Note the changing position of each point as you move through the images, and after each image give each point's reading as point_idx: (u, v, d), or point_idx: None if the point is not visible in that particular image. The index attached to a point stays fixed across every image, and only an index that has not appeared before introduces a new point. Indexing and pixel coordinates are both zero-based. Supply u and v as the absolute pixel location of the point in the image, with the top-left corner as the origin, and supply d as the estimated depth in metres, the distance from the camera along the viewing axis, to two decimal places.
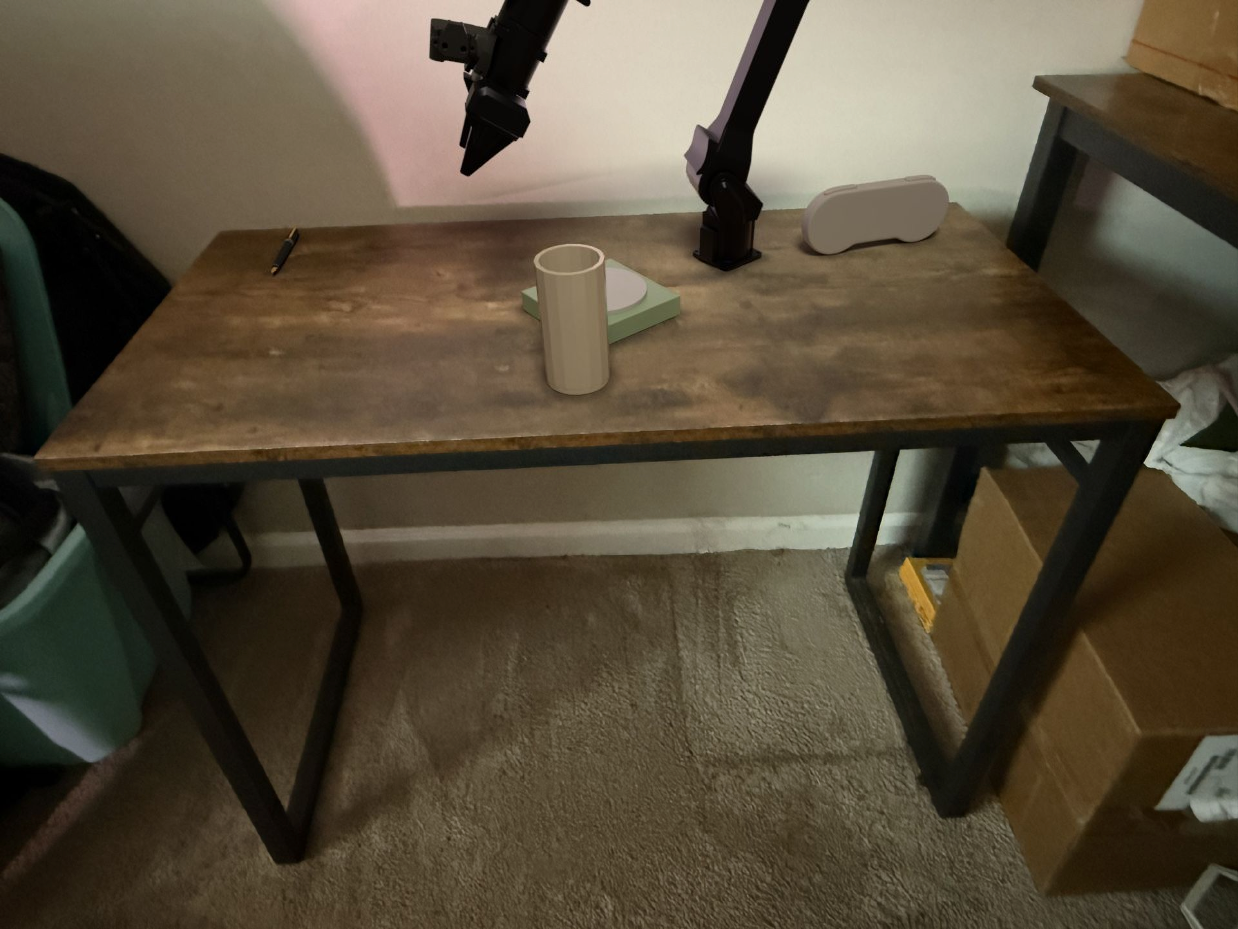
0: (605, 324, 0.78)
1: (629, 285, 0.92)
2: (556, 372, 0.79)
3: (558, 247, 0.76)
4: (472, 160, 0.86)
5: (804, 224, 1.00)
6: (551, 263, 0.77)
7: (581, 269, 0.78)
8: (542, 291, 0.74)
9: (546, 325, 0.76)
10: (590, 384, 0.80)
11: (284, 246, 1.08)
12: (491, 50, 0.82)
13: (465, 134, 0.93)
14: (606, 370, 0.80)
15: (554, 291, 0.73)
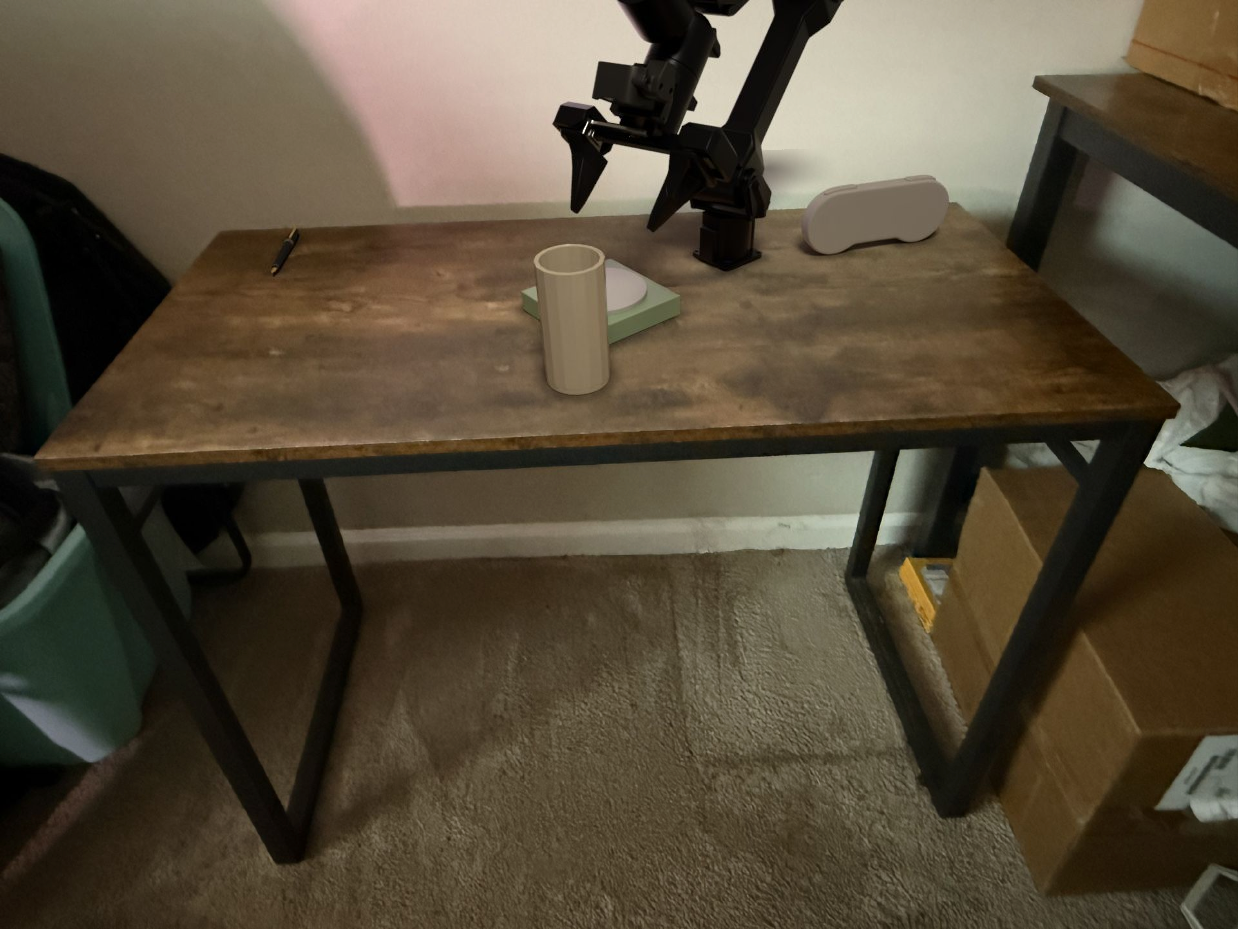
0: (605, 324, 0.78)
1: (629, 285, 0.92)
2: (556, 372, 0.79)
3: (558, 247, 0.76)
4: (664, 213, 0.77)
5: (804, 224, 1.00)
6: (551, 263, 0.77)
7: (581, 269, 0.78)
8: (542, 291, 0.74)
9: (546, 325, 0.76)
10: (590, 384, 0.80)
11: (284, 246, 1.08)
12: None
13: (577, 196, 0.81)
14: (606, 370, 0.80)
15: (554, 291, 0.73)
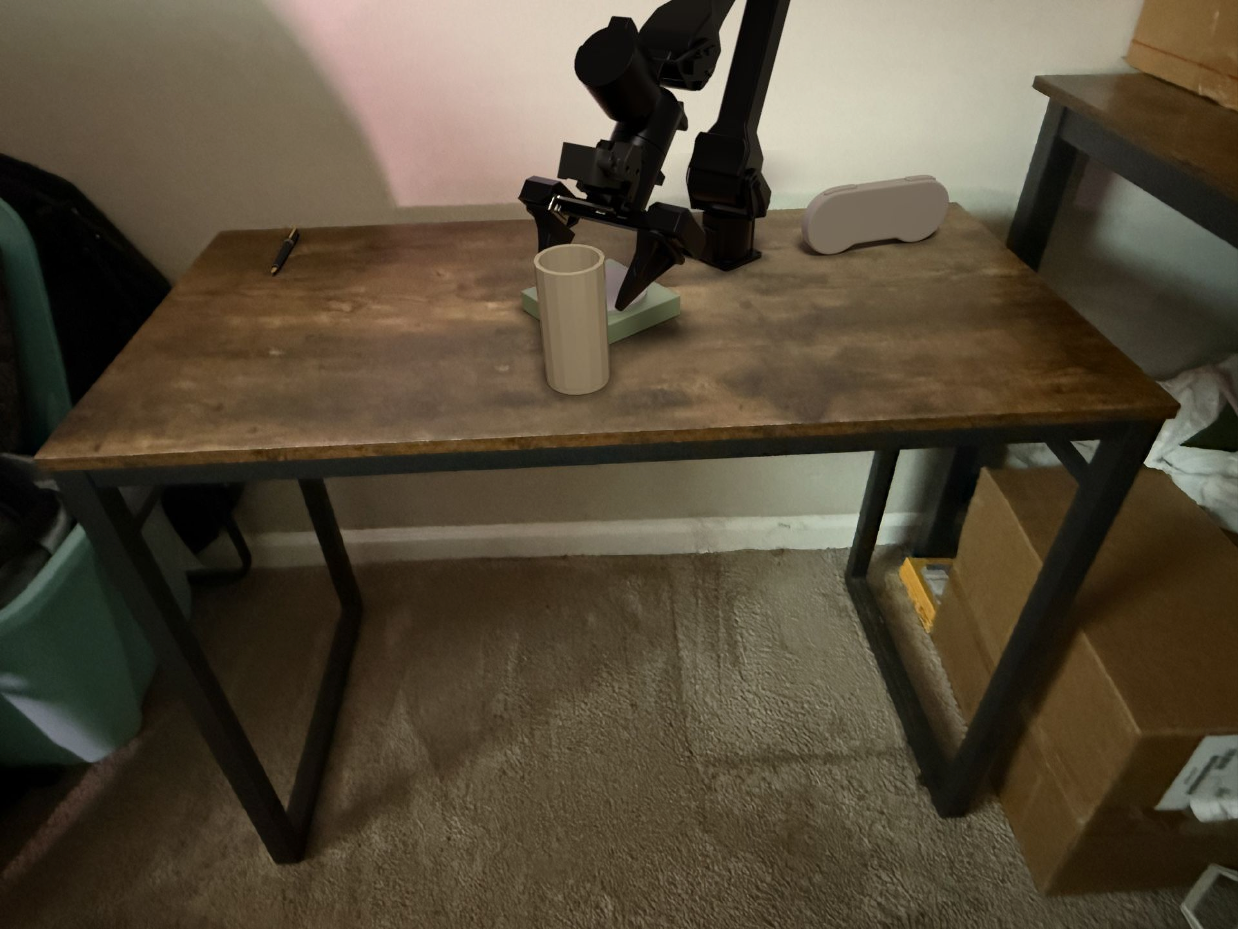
0: (605, 324, 0.78)
1: None
2: (556, 372, 0.79)
3: (558, 247, 0.76)
4: (632, 292, 0.76)
5: (804, 224, 1.00)
6: (551, 263, 0.77)
7: (581, 269, 0.78)
8: (542, 291, 0.74)
9: (546, 325, 0.76)
10: (590, 384, 0.80)
11: (284, 246, 1.08)
12: None
13: None
14: (606, 370, 0.80)
15: (554, 291, 0.73)
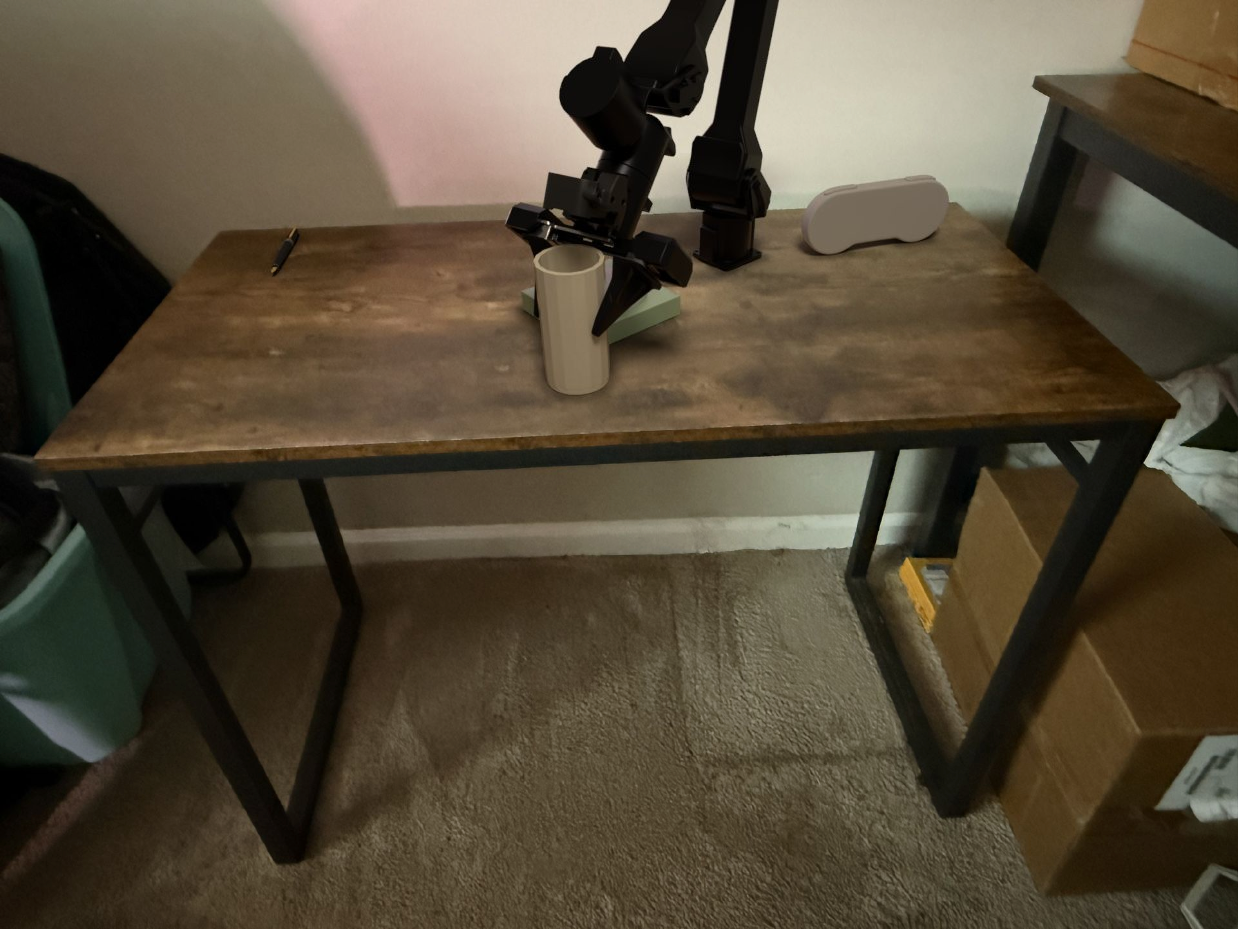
0: None
1: None
2: (556, 372, 0.79)
3: (558, 247, 0.76)
4: (609, 318, 0.76)
5: (804, 224, 1.00)
6: (551, 263, 0.77)
7: (581, 269, 0.78)
8: (542, 291, 0.74)
9: (546, 325, 0.76)
10: (590, 384, 0.80)
11: (284, 246, 1.08)
12: None
13: None
14: (605, 370, 0.80)
15: (554, 291, 0.73)
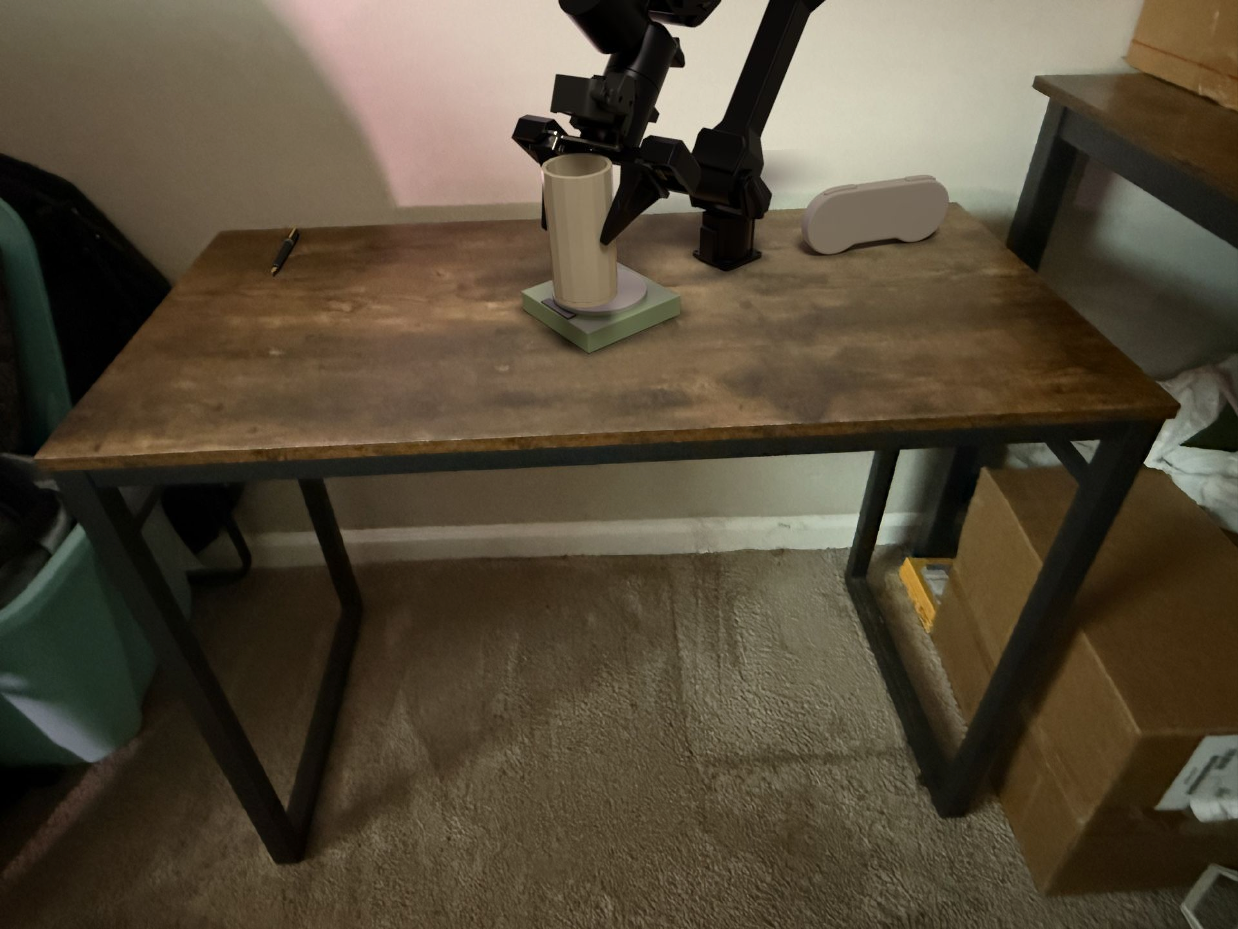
0: None
1: (629, 285, 0.92)
2: (564, 284, 0.79)
3: (565, 156, 0.76)
4: (617, 225, 0.76)
5: (804, 224, 1.00)
6: (558, 173, 0.77)
7: None
8: (550, 198, 0.74)
9: (554, 234, 0.76)
10: (598, 296, 0.80)
11: (284, 246, 1.08)
12: None
13: None
14: (613, 283, 0.80)
15: (562, 196, 0.73)
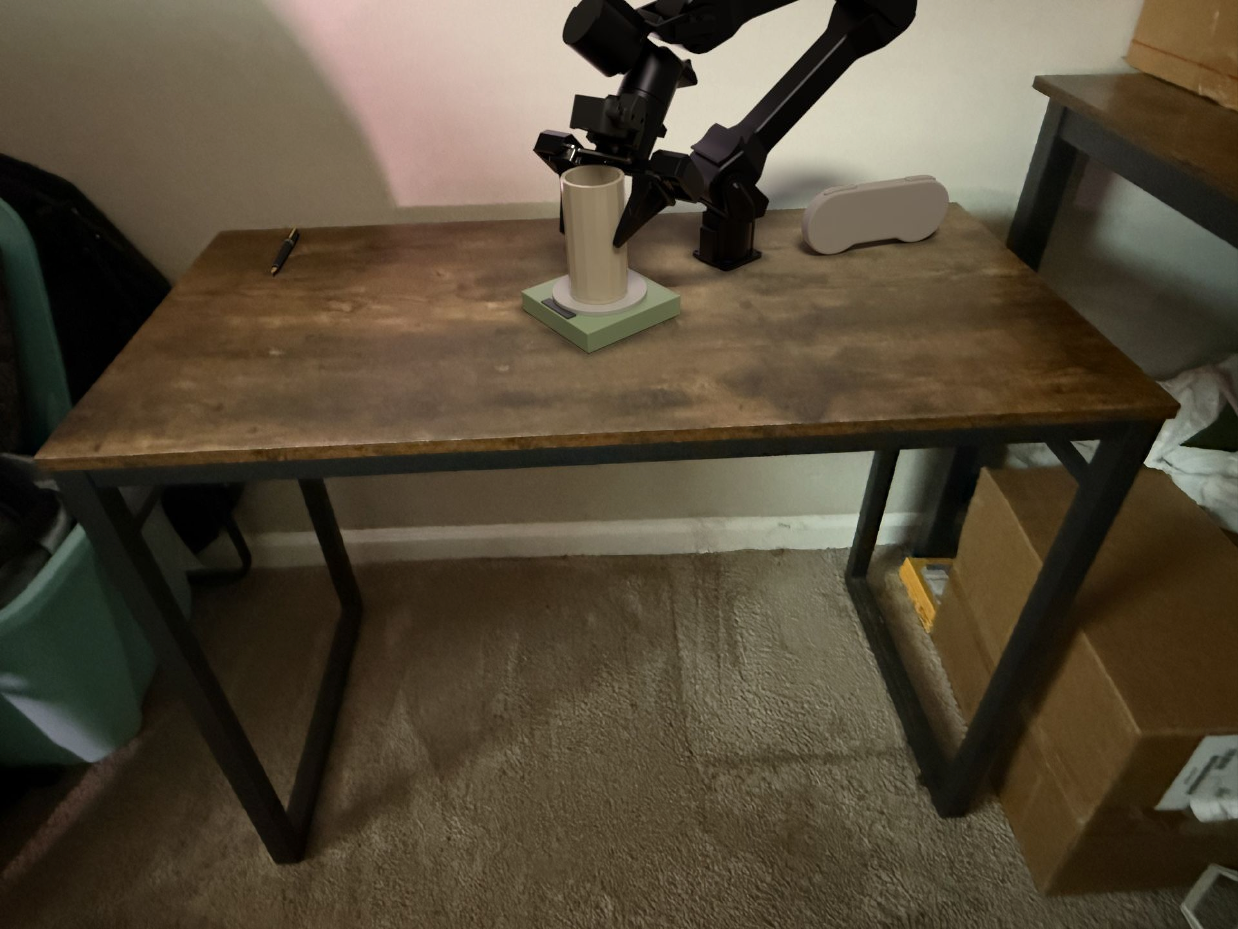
0: None
1: (629, 285, 0.92)
2: (579, 283, 0.87)
3: (582, 167, 0.85)
4: (628, 230, 0.84)
5: (804, 224, 1.00)
6: (575, 182, 0.85)
7: None
8: (568, 205, 0.82)
9: (571, 238, 0.85)
10: (610, 294, 0.88)
11: (284, 246, 1.08)
12: None
13: None
14: (624, 283, 0.88)
15: (579, 204, 0.81)
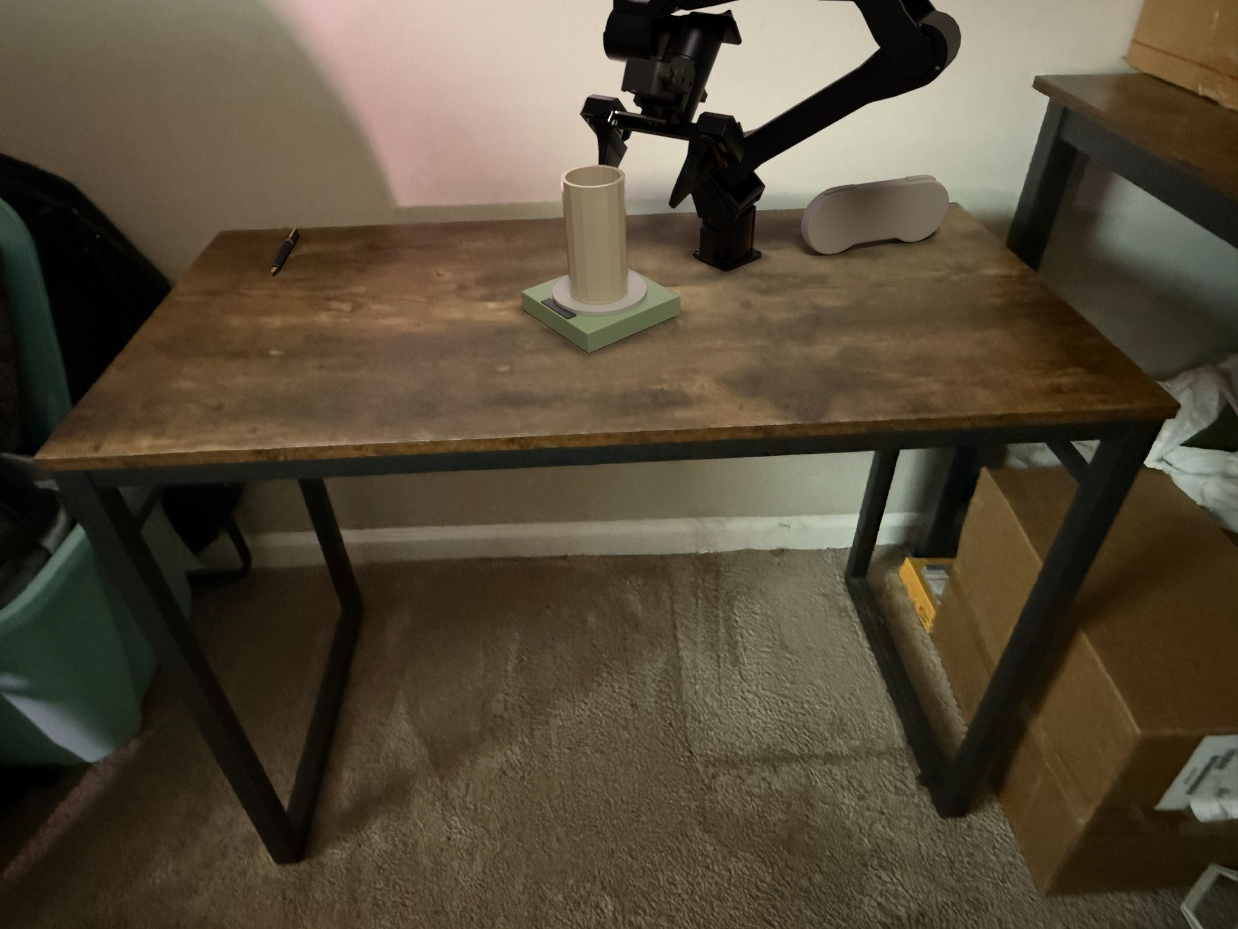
0: (624, 238, 0.86)
1: (629, 285, 0.92)
2: (579, 283, 0.87)
3: (582, 167, 0.85)
4: (683, 191, 0.88)
5: (804, 224, 1.00)
6: (576, 182, 0.85)
7: None
8: (568, 205, 0.82)
9: (571, 238, 0.85)
10: (610, 295, 0.88)
11: (284, 246, 1.08)
12: None
13: None
14: (624, 283, 0.88)
15: (579, 204, 0.81)
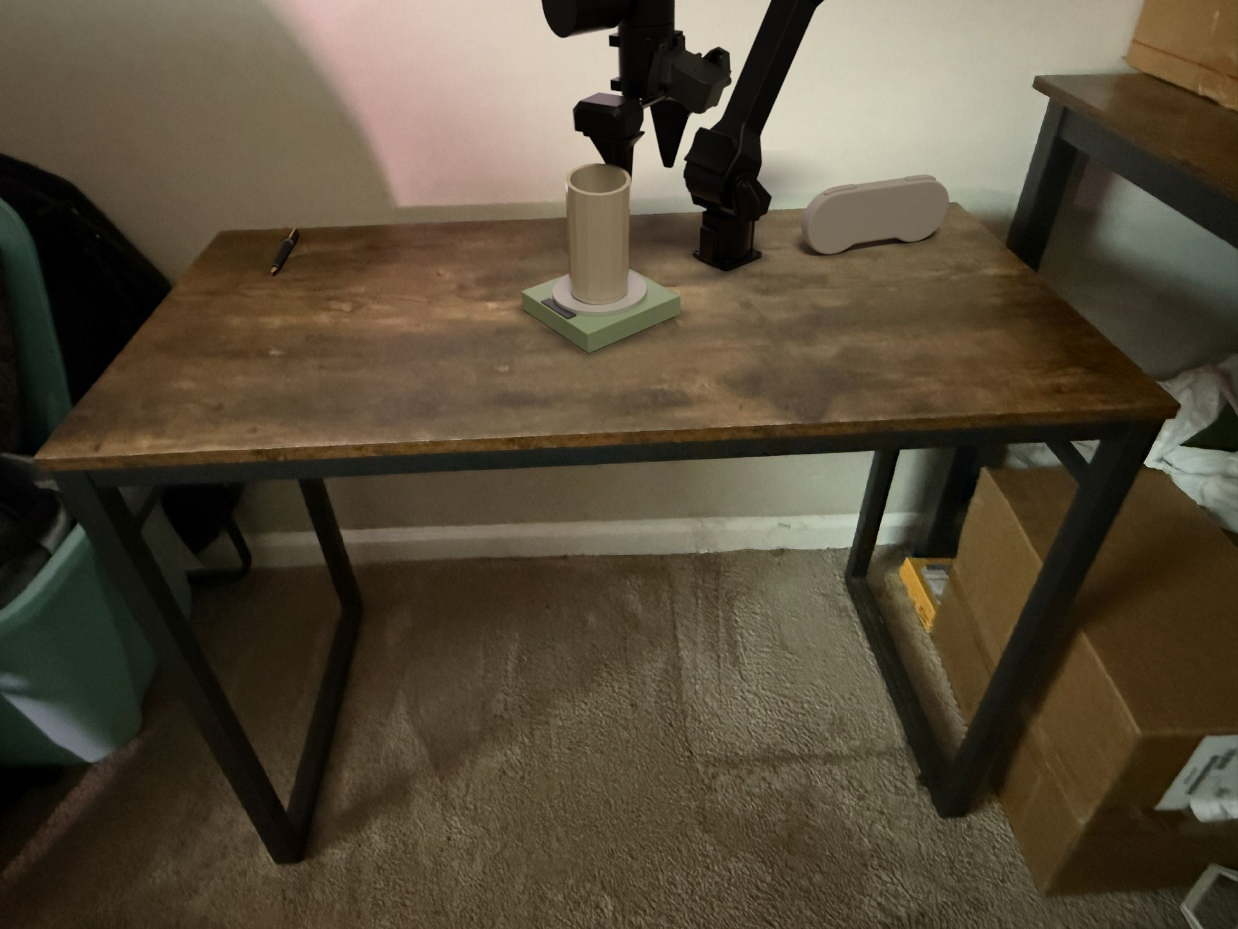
0: (627, 241, 0.85)
1: (629, 285, 0.92)
2: (580, 283, 0.87)
3: (587, 166, 0.83)
4: None
5: (804, 224, 1.00)
6: (580, 181, 0.83)
7: (607, 187, 0.84)
8: (572, 208, 0.81)
9: (574, 240, 0.84)
10: (610, 295, 0.88)
11: (284, 246, 1.08)
12: None
13: None
14: (625, 283, 0.88)
15: (584, 209, 0.80)
